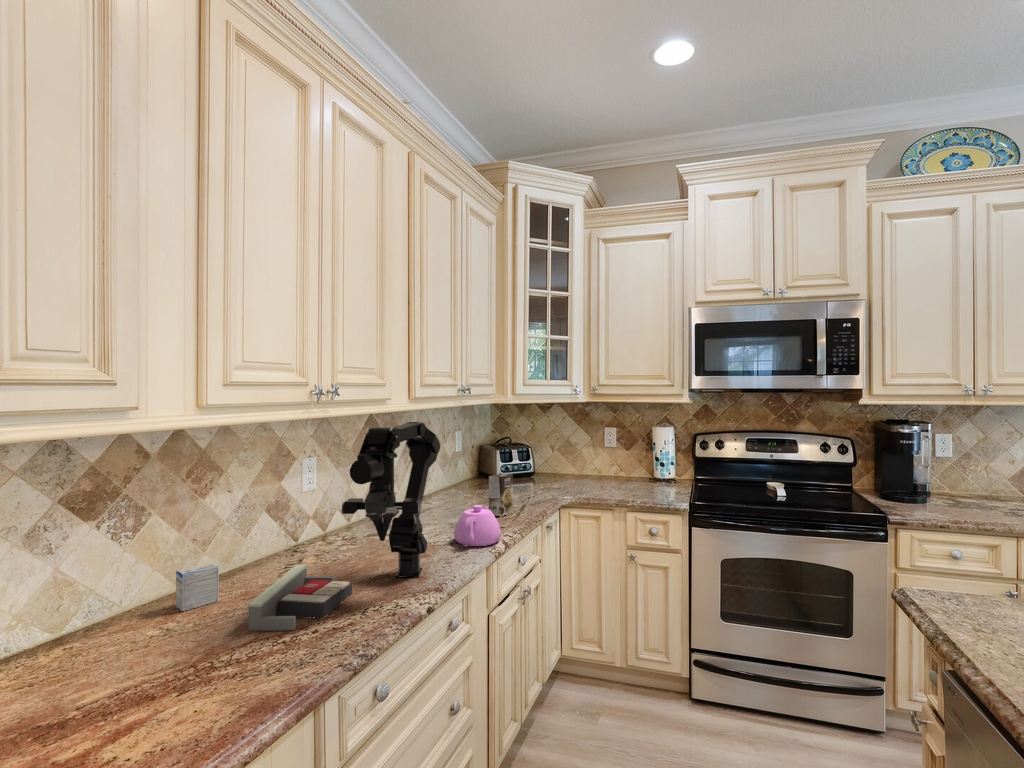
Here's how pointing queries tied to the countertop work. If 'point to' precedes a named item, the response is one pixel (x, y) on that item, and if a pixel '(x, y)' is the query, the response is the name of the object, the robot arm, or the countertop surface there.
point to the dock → (267, 602)
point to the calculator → (314, 599)
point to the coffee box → (501, 494)
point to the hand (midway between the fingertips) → (382, 540)
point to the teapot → (477, 527)
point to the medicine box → (197, 586)
